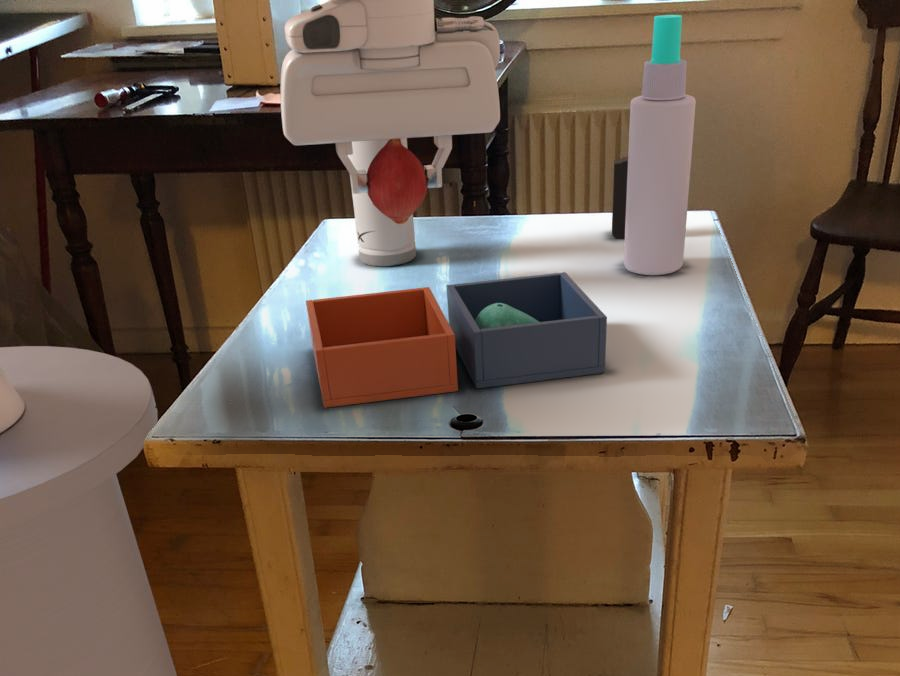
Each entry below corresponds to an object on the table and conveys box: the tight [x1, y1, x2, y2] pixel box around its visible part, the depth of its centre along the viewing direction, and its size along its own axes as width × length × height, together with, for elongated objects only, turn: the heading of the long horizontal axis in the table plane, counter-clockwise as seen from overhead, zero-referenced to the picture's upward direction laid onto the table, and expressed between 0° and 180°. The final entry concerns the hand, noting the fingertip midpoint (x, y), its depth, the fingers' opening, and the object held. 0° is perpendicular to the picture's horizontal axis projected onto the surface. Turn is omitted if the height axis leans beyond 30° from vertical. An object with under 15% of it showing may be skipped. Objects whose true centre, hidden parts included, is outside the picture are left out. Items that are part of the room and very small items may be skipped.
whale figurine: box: [475, 303, 539, 329], centre depth 81 cm, size 6×7×4 cm
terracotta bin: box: [305, 286, 459, 409], centre depth 80 cm, size 11×12×5 cm
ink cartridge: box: [611, 156, 628, 240], centre depth 108 cm, size 5×2×8 cm, turn 84°
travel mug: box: [347, 138, 417, 267], centre depth 101 cm, size 6×7×20 cm
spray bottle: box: [623, 14, 697, 276], centre depth 94 cm, size 6×6×22 cm
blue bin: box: [446, 271, 608, 389], centre depth 82 cm, size 11×12×5 cm
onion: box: [367, 139, 428, 224], centre depth 94 cm, size 6×6×8 cm
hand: (396, 189), depth 94 cm, fingers closed on onion, 6 cm apart
